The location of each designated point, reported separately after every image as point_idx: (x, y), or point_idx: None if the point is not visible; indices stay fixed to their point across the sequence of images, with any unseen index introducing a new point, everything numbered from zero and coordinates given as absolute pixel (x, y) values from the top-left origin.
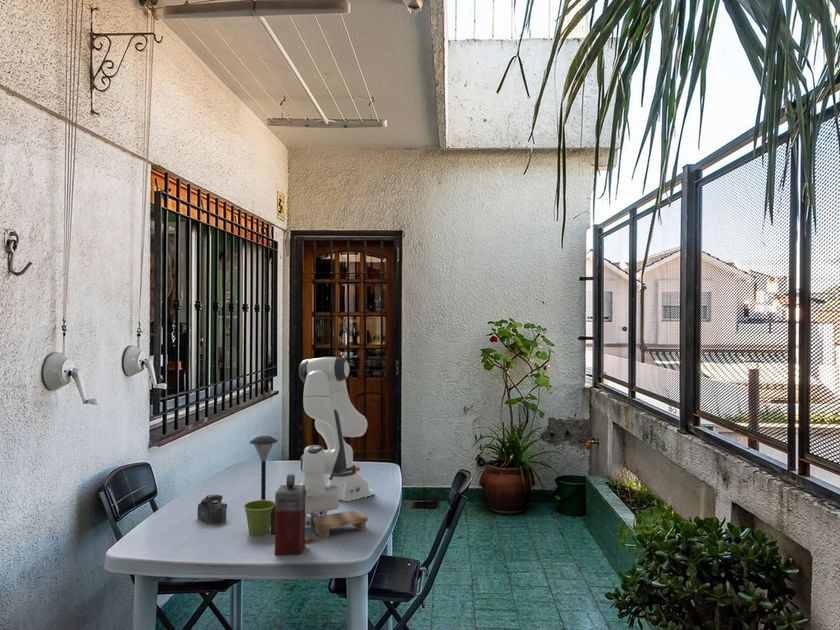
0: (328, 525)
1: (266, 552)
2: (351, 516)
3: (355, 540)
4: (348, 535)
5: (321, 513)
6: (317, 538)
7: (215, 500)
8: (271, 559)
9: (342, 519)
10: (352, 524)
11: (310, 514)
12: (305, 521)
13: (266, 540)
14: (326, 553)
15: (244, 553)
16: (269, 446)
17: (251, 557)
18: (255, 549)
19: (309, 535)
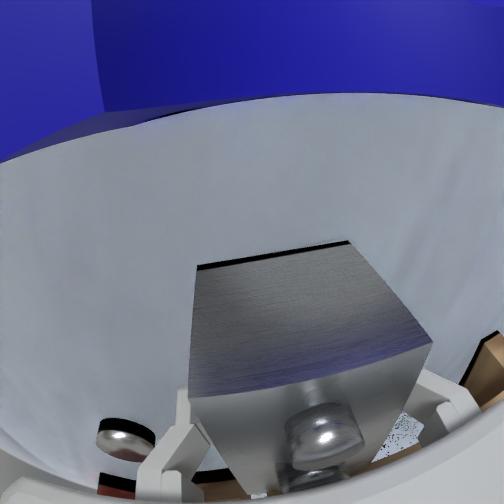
0: None
1: (61, 461)
2: None
3: (390, 448)
4: (401, 424)
5: (476, 101)
6: (248, 498)
7: None
8: (95, 484)
9: None
10: (483, 360)
11: (284, 443)
12: (201, 445)
13: (6, 399)
14: (259, 496)
15: (3, 437)
16: None
17: (36, 460)
18: (15, 435)
19: (215, 500)
